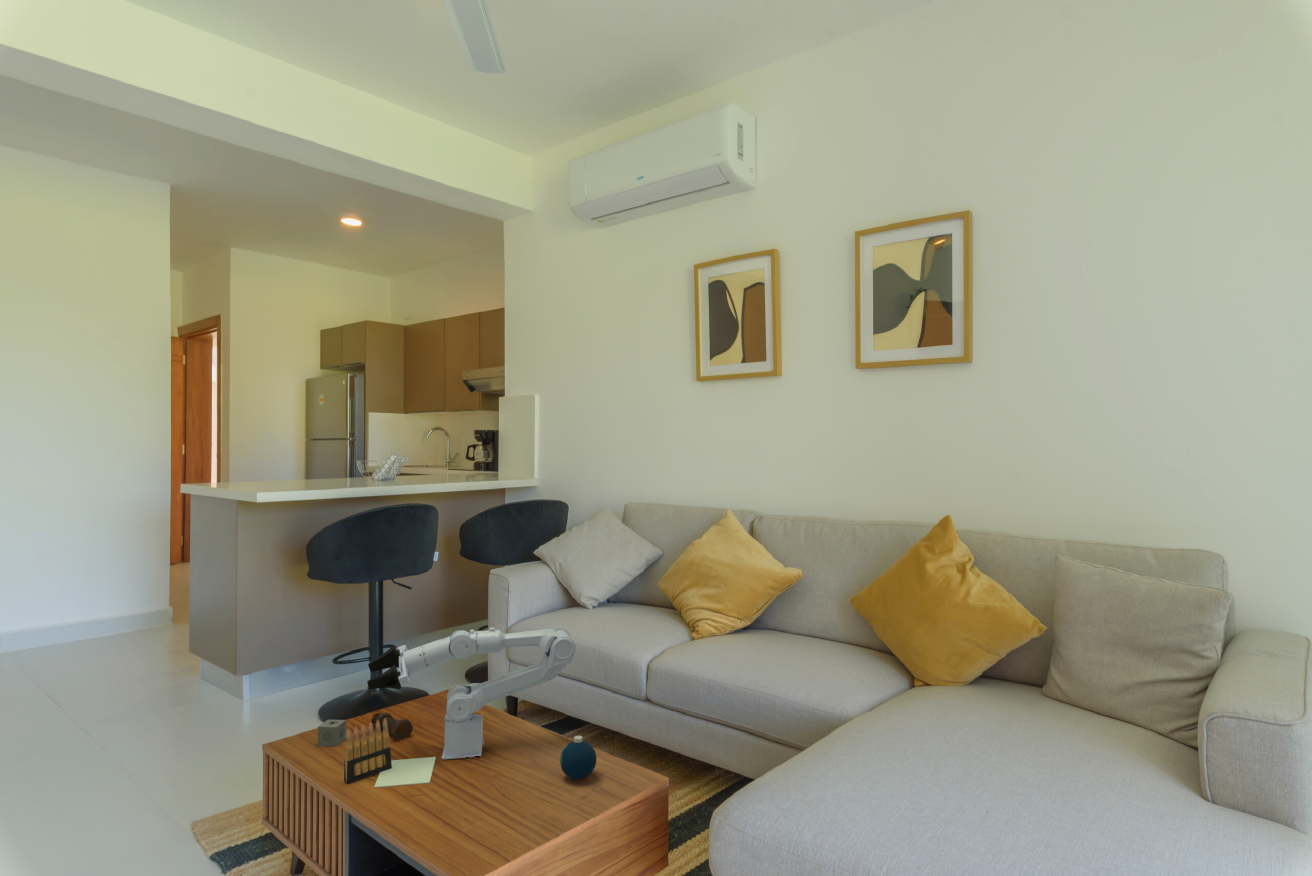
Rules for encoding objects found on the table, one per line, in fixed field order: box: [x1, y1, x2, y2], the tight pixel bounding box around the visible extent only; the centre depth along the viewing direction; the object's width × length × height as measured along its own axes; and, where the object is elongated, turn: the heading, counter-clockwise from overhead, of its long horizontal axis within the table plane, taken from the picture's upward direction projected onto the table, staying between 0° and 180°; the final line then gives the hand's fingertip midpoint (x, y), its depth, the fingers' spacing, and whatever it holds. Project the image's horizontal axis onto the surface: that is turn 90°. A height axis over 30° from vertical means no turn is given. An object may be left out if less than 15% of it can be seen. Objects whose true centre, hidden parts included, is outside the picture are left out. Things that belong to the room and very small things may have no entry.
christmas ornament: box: [559, 735, 597, 781], centre depth 170 cm, size 8×8×10 cm
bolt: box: [370, 712, 414, 742], centre depth 198 cm, size 6×5×15 cm
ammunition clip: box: [343, 718, 392, 785], centre depth 171 cm, size 11×2×12 cm, turn 136°
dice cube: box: [317, 719, 347, 748], centre depth 191 cm, size 5×5×5 cm
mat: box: [373, 756, 437, 789], centre depth 173 cm, size 12×14×1 cm
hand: (368, 676), depth 179 cm, fingers open, 7 cm apart
